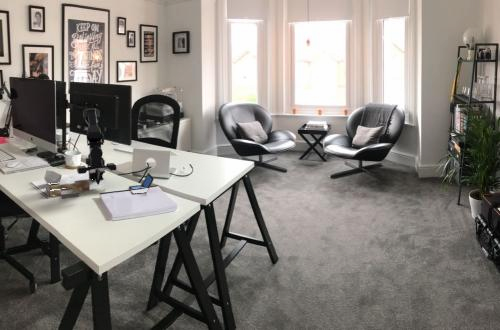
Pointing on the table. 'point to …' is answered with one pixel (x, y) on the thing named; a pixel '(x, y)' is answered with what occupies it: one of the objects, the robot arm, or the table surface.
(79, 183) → the walnut block
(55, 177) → the die
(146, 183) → the handheld game console
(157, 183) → the table surface
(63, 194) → the pit mat
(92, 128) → the robot arm
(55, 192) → the tunnel
